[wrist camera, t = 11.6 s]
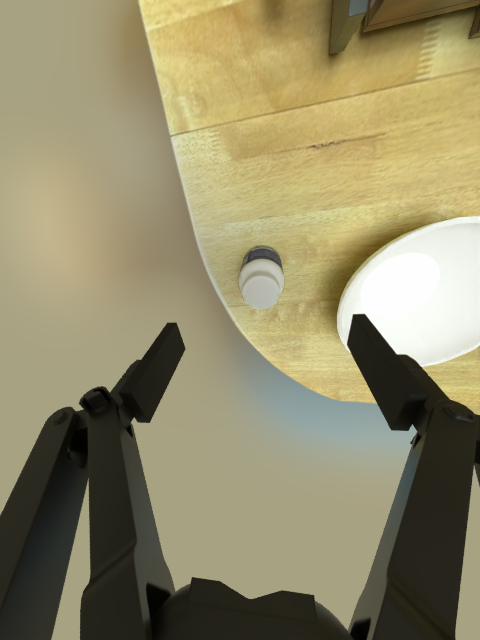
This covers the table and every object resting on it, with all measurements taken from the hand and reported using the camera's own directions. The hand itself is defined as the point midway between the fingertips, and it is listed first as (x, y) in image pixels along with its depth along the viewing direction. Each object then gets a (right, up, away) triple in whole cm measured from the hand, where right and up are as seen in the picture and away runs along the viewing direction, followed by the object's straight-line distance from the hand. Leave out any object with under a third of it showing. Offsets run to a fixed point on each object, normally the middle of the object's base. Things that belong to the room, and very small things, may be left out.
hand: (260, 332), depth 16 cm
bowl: (+21, +6, +14) cm, 26 cm away
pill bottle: (+2, +9, +14) cm, 17 cm away
